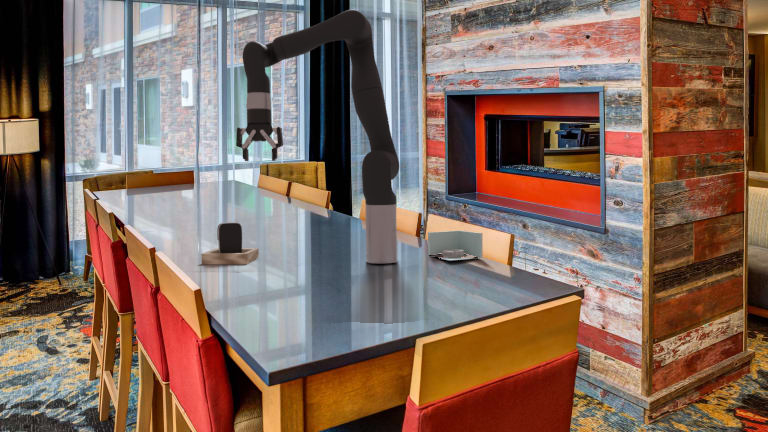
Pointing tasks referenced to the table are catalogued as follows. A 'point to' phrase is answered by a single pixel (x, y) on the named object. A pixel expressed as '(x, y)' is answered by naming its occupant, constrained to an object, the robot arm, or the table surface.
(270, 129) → the robot arm
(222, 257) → the beige square frame
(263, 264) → the table surface
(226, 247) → the battery charger
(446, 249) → the l-shaped corner panel
